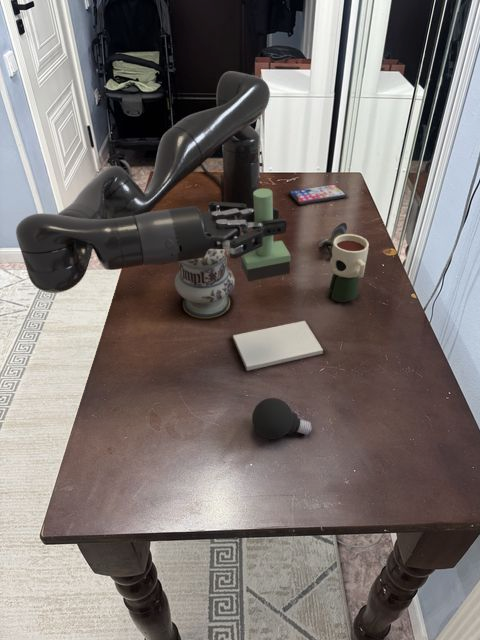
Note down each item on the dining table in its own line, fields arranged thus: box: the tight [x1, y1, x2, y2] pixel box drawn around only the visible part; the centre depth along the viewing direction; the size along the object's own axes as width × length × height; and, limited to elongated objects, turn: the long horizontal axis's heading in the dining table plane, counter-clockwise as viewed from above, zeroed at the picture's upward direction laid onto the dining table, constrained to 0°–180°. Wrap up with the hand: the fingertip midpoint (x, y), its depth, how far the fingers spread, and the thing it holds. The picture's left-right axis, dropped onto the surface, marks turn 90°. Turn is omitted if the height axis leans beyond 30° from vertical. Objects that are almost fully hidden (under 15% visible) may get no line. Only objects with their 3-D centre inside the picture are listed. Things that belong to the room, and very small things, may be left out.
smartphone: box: [288, 183, 347, 206], centre depth 140 cm, size 8×1×15 cm
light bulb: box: [251, 397, 312, 440], centre depth 78 cm, size 6×6×10 cm
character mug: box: [328, 233, 370, 303], centre depth 102 cm, size 11×7×13 cm, turn 23°
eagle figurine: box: [317, 222, 348, 261], centre depth 117 cm, size 8×7×9 cm
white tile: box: [232, 320, 324, 372], centre depth 94 cm, size 15×9×1 cm, turn 109°
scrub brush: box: [240, 188, 291, 282], centre depth 77 cm, size 7×5×14 cm, turn 106°
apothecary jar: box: [174, 249, 236, 319], centre depth 97 cm, size 12×12×18 cm
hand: (281, 220), depth 76 cm, fingers closed on scrub brush, 3 cm apart
